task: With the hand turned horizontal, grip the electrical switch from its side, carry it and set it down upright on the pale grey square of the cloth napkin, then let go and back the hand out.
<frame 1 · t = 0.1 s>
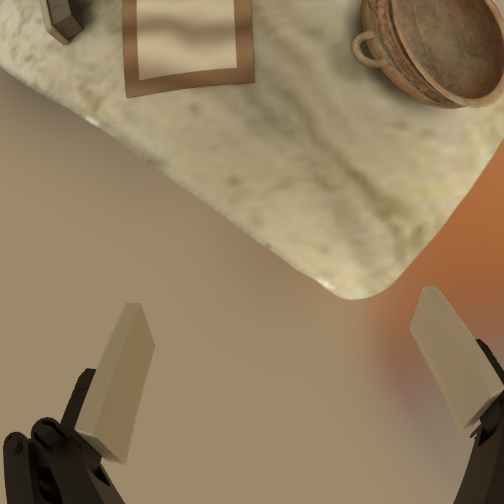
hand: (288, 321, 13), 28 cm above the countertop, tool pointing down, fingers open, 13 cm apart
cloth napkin: (185, 29, 28), on the countertop
cooking pot: (408, 40, 28), on the countertop
electrical switch: (73, 15, 25), on the countertop
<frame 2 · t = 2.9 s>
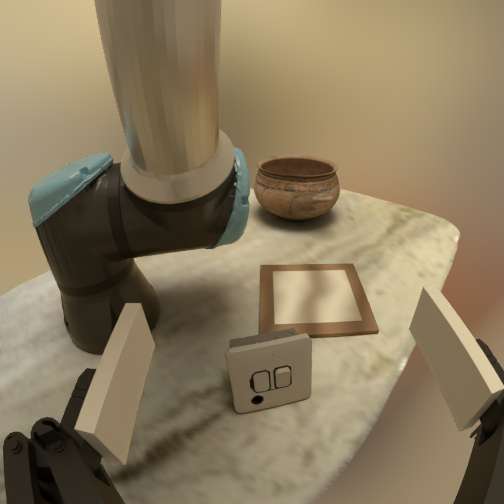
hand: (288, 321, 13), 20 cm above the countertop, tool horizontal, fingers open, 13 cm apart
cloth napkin: (313, 297, 44), on the countertop
cooking pot: (296, 216, 69), on the countertop
electrical switch: (267, 391, 31), on the countertop
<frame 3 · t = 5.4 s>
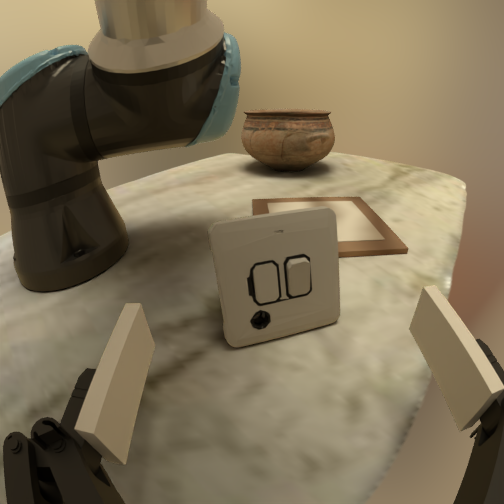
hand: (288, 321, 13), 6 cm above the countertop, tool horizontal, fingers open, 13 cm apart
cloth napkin: (320, 223, 36), on the countertop
cooking pot: (288, 168, 61), on the countertop
electrical switch: (273, 319, 22), on the countertop
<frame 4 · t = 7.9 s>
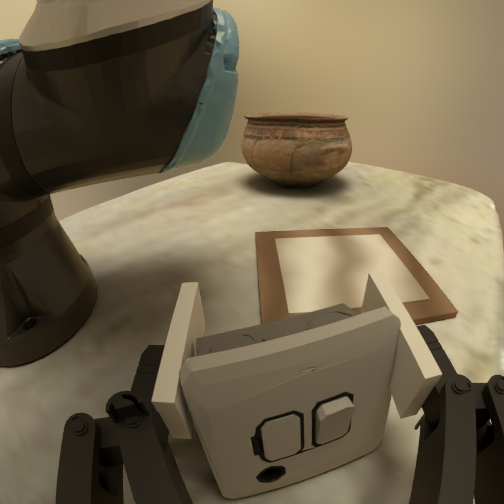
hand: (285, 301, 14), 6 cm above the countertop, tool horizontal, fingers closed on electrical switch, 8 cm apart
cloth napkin: (344, 271, 27), on the countertop
cooking pot: (296, 183, 53), on the countertop
electrical switch: (287, 445, 13), on the countertop, touching gripper
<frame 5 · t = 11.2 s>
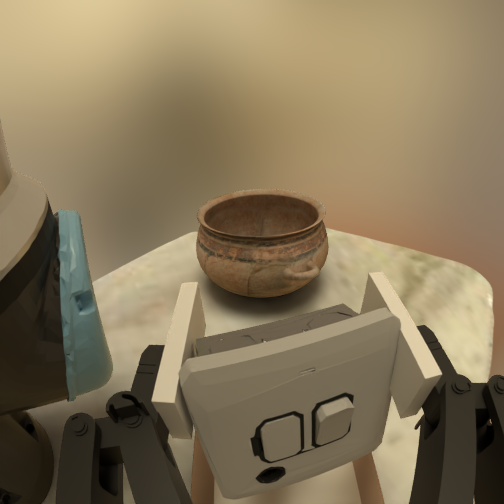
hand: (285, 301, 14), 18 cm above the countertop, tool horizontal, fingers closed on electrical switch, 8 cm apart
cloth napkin: (283, 464, 22), on the countertop
cooking pot: (263, 283, 47), on the countertop
electrical switch: (287, 446, 13), point 12 cm above the countertop, touching gripper
when the fingers open (7 cm above the countertop, at t = 15.0 s): electrical switch stays where it is, resting on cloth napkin.
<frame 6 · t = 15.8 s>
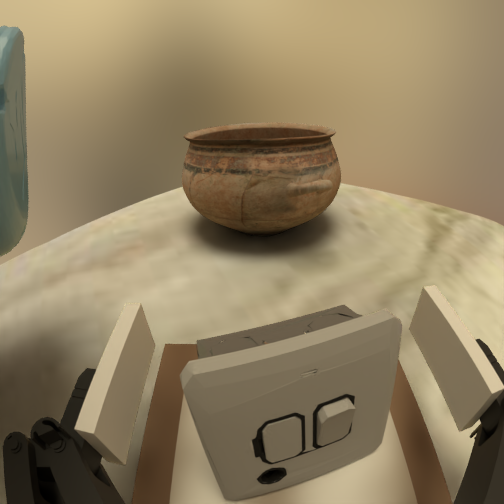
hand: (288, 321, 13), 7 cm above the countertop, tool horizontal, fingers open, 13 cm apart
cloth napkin: (289, 449, 14), on the countertop
cooking pot: (263, 225, 39), on the countertop
electrical switch: (287, 447, 13), resting on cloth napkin
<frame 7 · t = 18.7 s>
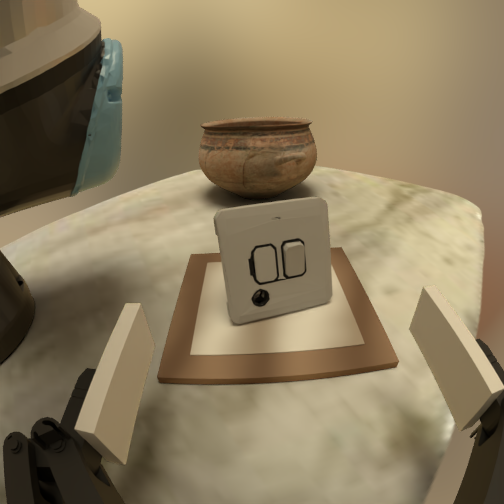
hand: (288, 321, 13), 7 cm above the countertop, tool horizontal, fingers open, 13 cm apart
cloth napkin: (273, 304, 25), on the countertop
cooking pot: (259, 194, 50), on the countertop
electrical switch: (272, 300, 25), resting on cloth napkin
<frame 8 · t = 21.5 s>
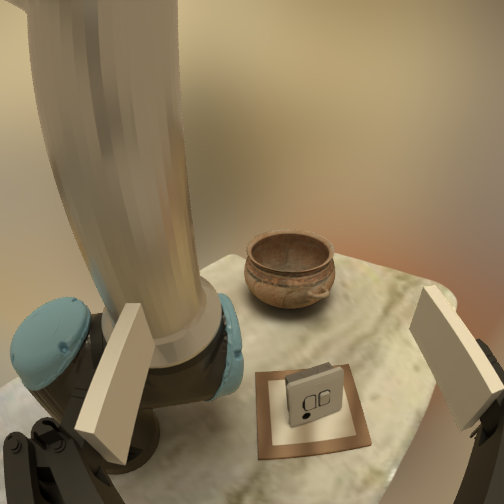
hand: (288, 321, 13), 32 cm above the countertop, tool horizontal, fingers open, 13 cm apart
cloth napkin: (309, 410, 41), on the countertop
cooking pot: (289, 297, 66), on the countertop
electrical switch: (309, 409, 40), resting on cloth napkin
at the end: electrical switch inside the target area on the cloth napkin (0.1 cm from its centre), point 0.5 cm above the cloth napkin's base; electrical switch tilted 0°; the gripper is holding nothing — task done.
